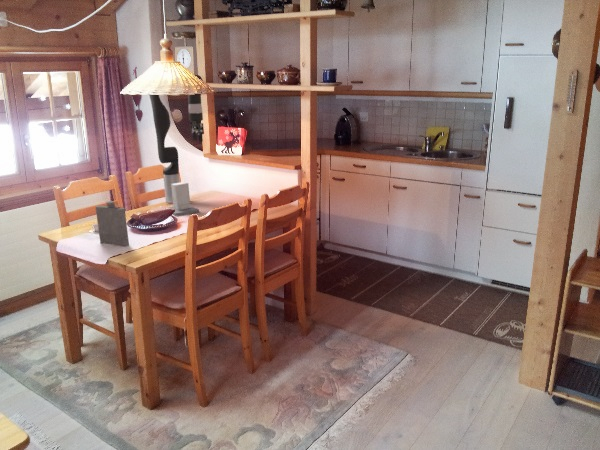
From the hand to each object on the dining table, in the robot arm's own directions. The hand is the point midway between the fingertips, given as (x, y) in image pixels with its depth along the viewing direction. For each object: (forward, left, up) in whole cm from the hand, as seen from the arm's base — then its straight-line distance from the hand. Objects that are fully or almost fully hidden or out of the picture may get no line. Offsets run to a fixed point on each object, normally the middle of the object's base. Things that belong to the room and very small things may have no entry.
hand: (197, 141), depth 300 cm
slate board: (+4, -14, -38) cm, 41 cm away
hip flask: (+42, -61, -38) cm, 83 cm away
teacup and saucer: (+18, -63, -39) cm, 77 cm away
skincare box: (+4, -14, -37) cm, 40 cm away
